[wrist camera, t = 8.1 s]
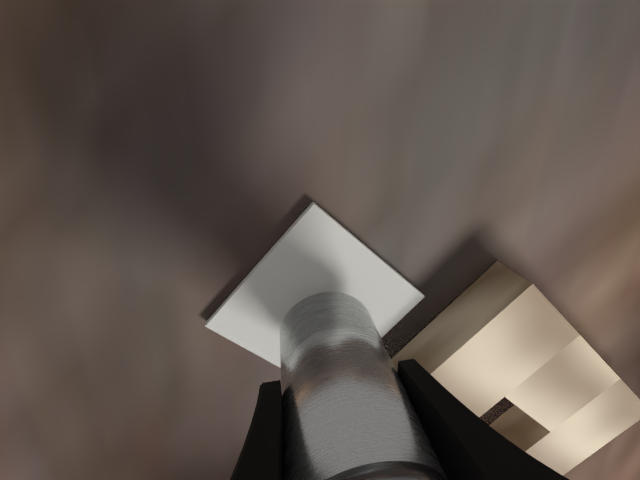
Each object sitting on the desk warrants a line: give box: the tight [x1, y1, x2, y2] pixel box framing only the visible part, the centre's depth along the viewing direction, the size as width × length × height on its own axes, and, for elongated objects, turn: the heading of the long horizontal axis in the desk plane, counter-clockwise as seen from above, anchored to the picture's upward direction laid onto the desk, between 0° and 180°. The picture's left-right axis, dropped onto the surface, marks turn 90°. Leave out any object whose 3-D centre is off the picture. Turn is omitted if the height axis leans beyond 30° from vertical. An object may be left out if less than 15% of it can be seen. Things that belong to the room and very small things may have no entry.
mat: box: [205, 202, 425, 368], centre depth 16 cm, size 8×8×1 cm
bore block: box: [391, 260, 640, 476], centre depth 21 cm, size 16×16×2 cm
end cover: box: [280, 292, 447, 480], centre depth 11 cm, size 4×4×8 cm
